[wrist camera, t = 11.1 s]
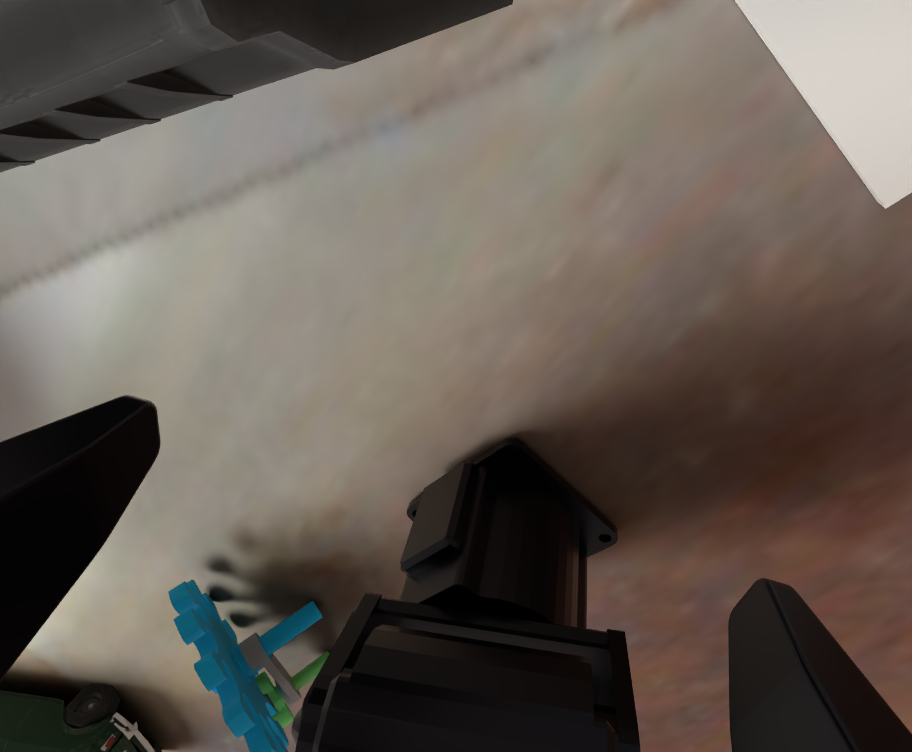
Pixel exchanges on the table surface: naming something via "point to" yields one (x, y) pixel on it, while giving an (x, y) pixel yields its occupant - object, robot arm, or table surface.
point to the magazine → (178, 57)
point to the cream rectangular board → (850, 78)
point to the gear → (245, 667)
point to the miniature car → (68, 724)
